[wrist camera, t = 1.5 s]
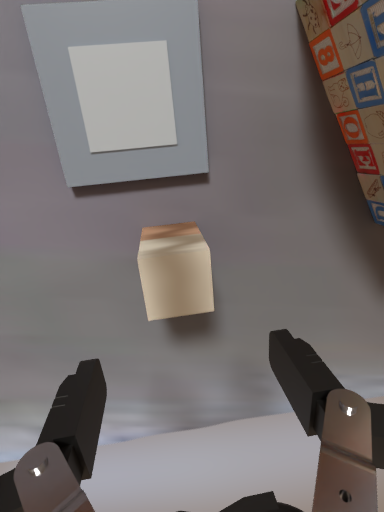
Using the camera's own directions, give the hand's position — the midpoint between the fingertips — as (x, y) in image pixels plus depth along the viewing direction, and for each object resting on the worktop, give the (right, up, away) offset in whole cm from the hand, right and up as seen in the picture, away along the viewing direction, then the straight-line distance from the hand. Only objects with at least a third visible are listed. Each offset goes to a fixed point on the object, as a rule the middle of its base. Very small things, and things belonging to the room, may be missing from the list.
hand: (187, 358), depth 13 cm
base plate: (-5, +17, +9) cm, 20 cm away
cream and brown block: (-2, +6, +14) cm, 15 cm away
